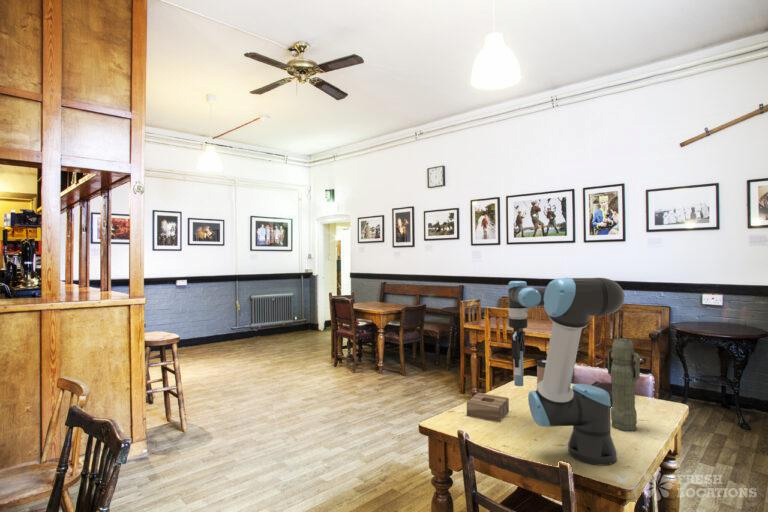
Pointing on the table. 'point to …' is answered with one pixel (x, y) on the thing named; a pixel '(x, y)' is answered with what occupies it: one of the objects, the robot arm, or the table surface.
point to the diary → (604, 388)
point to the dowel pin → (517, 378)
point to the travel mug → (540, 369)
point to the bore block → (488, 407)
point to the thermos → (623, 383)
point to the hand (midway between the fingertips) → (518, 373)
